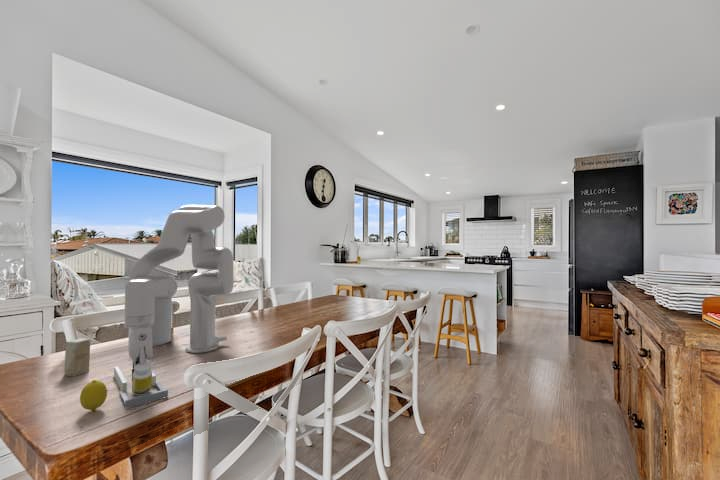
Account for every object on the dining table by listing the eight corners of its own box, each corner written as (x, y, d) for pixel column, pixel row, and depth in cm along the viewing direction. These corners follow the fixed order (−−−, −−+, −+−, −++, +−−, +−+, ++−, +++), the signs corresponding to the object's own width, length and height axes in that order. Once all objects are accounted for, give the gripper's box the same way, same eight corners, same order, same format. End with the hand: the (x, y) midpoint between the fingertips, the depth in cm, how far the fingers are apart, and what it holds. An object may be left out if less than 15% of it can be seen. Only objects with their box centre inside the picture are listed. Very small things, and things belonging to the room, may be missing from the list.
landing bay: (159, 385, 104) (159, 378, 104) (167, 396, 96) (168, 389, 96) (119, 394, 97) (119, 388, 97) (125, 408, 89) (125, 400, 89)
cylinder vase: (177, 340, 150) (178, 285, 150) (149, 348, 138) (150, 288, 139) (158, 337, 155) (159, 283, 155) (130, 344, 144) (131, 286, 144)
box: (74, 376, 109) (75, 342, 109) (63, 375, 110) (64, 341, 110) (90, 370, 114) (90, 338, 114) (80, 369, 115) (80, 337, 115)
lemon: (89, 406, 90) (90, 376, 90) (111, 405, 91) (112, 375, 91) (74, 416, 85) (74, 385, 85) (97, 415, 85) (97, 384, 85)
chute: (144, 369, 116) (144, 360, 116) (155, 385, 104) (156, 375, 104) (114, 376, 110) (114, 366, 110) (122, 393, 98) (122, 383, 98)
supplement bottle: (154, 389, 100) (156, 366, 97) (138, 398, 95) (139, 374, 93) (144, 381, 101) (146, 358, 99) (128, 390, 97) (129, 366, 95)
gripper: (159, 323, 98) (158, 386, 97) (149, 314, 109) (148, 371, 109) (128, 327, 93) (127, 393, 92) (121, 317, 104) (119, 377, 103)
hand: (138, 381), depth 100 cm, fingers closed
